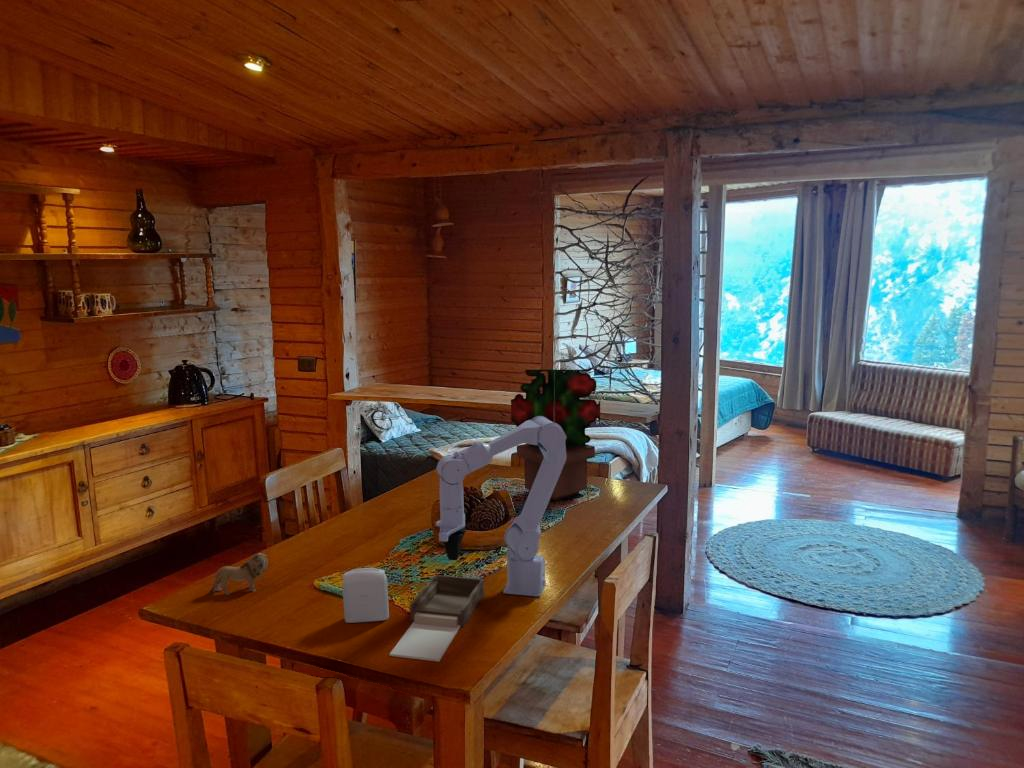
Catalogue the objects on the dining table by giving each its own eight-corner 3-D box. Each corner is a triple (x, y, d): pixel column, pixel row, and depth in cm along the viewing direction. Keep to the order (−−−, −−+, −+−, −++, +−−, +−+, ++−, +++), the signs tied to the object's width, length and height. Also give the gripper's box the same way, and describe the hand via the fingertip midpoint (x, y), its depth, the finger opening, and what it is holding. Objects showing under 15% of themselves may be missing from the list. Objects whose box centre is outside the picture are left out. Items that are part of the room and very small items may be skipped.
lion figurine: (269, 581, 191) (266, 548, 190) (270, 589, 187) (268, 556, 185) (208, 591, 186) (205, 557, 185) (208, 599, 181) (205, 565, 180)
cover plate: (414, 624, 168) (414, 612, 168) (460, 629, 166) (460, 616, 165) (389, 658, 154) (389, 645, 154) (439, 663, 152) (438, 650, 151)
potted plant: (557, 481, 276) (556, 363, 269) (599, 494, 259) (600, 369, 252) (512, 493, 262) (510, 369, 255) (554, 508, 246) (553, 376, 238)
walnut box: (435, 589, 185) (434, 574, 184) (484, 594, 182) (484, 579, 181) (410, 621, 169) (409, 605, 168) (464, 626, 166) (463, 610, 165)
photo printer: (343, 624, 168) (340, 574, 166) (345, 616, 172) (342, 566, 170) (388, 622, 169) (386, 571, 167) (389, 613, 173) (387, 564, 171)
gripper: (445, 495, 184) (447, 546, 186) (425, 514, 170) (427, 569, 172) (472, 497, 182) (473, 548, 184) (454, 516, 168) (456, 572, 170)
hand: (453, 559), depth 178 cm, fingers closed
